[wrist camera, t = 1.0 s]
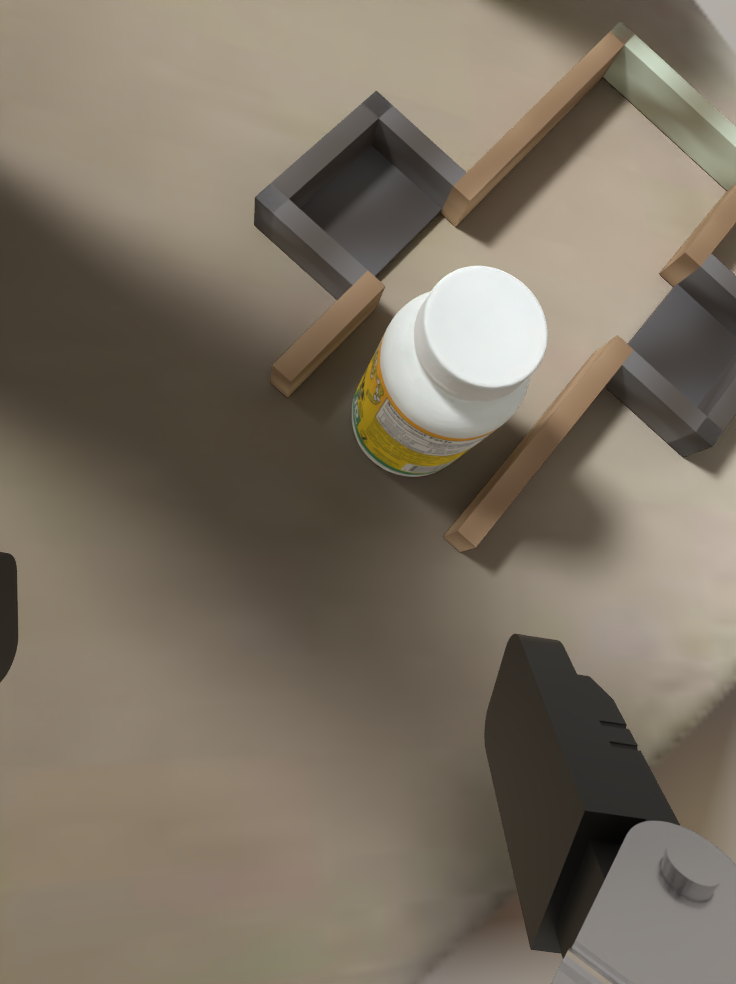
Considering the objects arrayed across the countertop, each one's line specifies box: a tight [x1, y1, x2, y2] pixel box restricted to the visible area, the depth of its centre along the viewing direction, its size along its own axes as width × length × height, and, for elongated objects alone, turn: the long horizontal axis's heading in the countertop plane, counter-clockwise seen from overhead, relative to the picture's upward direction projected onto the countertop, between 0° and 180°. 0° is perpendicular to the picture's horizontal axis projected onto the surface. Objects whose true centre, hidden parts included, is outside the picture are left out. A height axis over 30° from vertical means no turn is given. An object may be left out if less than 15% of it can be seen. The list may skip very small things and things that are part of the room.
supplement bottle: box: [352, 266, 548, 477], centre depth 24 cm, size 5×5×10 cm
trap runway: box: [254, 21, 736, 552], centre depth 30 cm, size 22×26×2 cm
